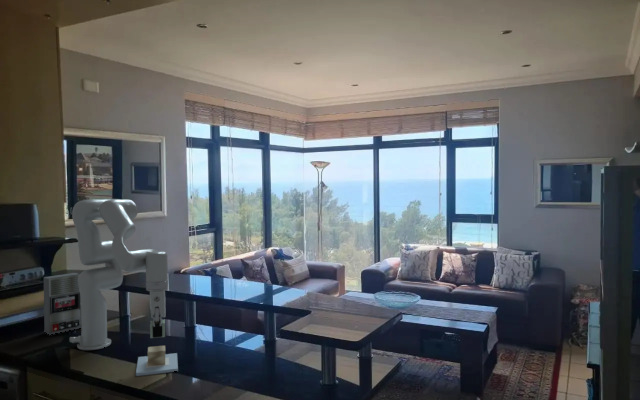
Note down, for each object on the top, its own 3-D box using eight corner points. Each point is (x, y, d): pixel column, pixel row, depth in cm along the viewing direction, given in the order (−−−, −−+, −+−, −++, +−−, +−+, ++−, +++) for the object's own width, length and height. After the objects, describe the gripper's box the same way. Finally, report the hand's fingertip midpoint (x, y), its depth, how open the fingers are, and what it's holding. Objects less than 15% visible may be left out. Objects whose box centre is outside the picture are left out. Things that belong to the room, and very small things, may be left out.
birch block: (147, 366, 171) (147, 352, 171) (148, 360, 177) (148, 347, 176) (165, 364, 173) (165, 350, 173) (165, 358, 178) (165, 345, 178)
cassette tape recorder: (49, 336, 207) (48, 279, 206) (44, 333, 211) (43, 277, 210) (82, 328, 218) (81, 274, 217) (76, 326, 222) (75, 272, 221)
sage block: (150, 338, 171) (150, 324, 171) (150, 334, 176) (150, 320, 176) (165, 336, 173) (164, 323, 172) (165, 332, 177) (164, 319, 177)
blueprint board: (135, 376, 165) (135, 373, 165) (138, 359, 180) (138, 356, 180) (178, 371, 169) (177, 368, 169) (177, 355, 185) (177, 352, 184)
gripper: (167, 289, 167) (168, 340, 167) (167, 280, 183) (168, 327, 183) (145, 290, 164) (145, 343, 165) (146, 281, 181) (147, 329, 181)
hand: (157, 334), depth 174 cm, fingers closed on sage block, 4 cm apart
